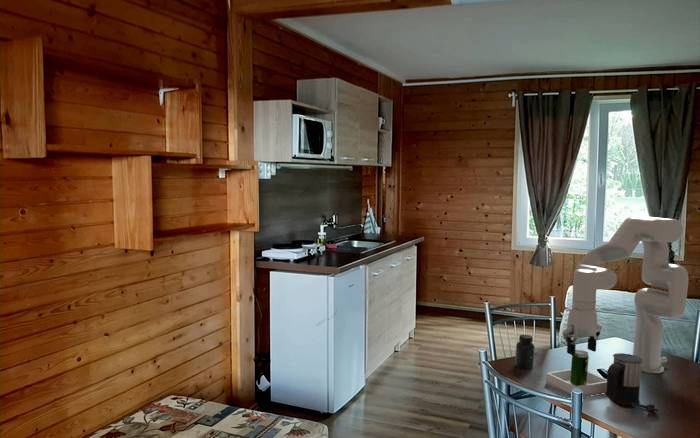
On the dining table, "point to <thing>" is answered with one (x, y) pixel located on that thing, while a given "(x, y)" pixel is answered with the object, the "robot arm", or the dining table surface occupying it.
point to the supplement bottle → (524, 352)
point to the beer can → (579, 368)
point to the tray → (562, 383)
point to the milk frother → (626, 380)
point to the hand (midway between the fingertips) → (581, 352)
